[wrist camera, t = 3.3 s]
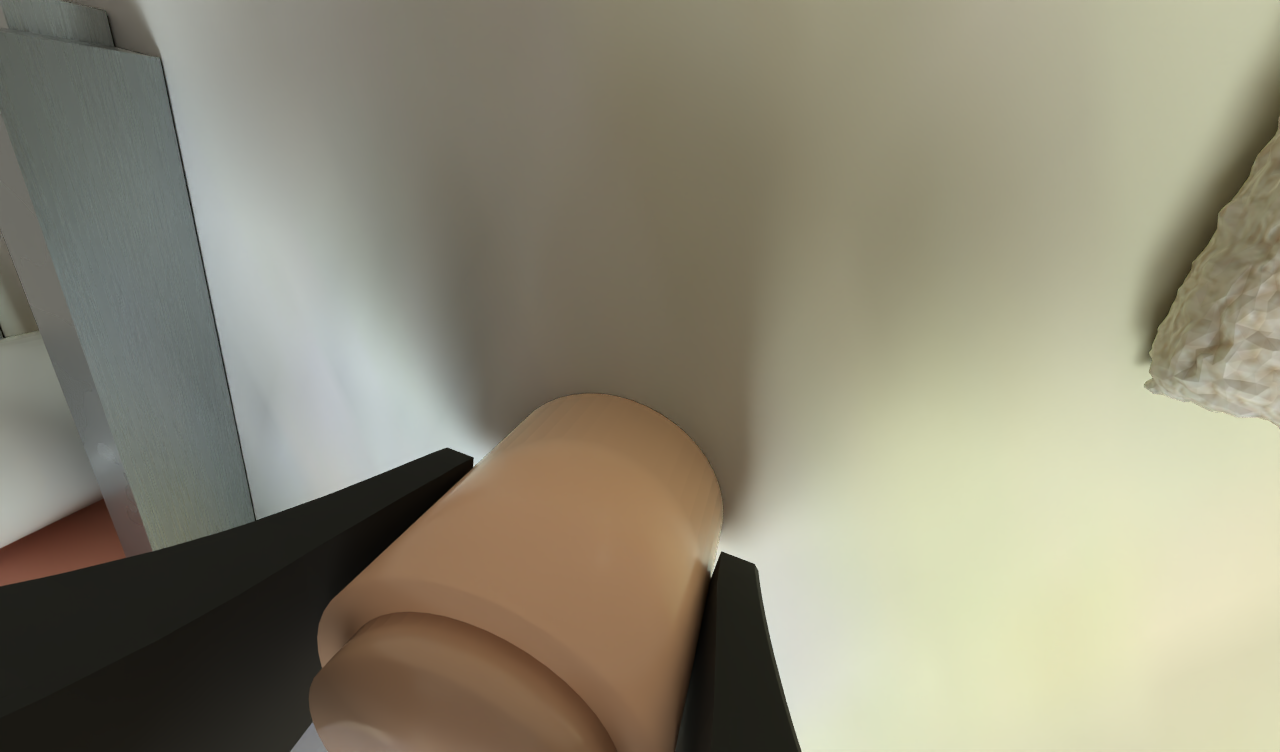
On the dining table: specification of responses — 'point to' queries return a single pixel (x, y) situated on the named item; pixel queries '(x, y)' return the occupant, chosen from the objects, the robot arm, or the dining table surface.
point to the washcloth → (1230, 308)
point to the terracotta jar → (533, 597)
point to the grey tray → (116, 272)
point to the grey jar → (37, 444)
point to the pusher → (62, 546)
